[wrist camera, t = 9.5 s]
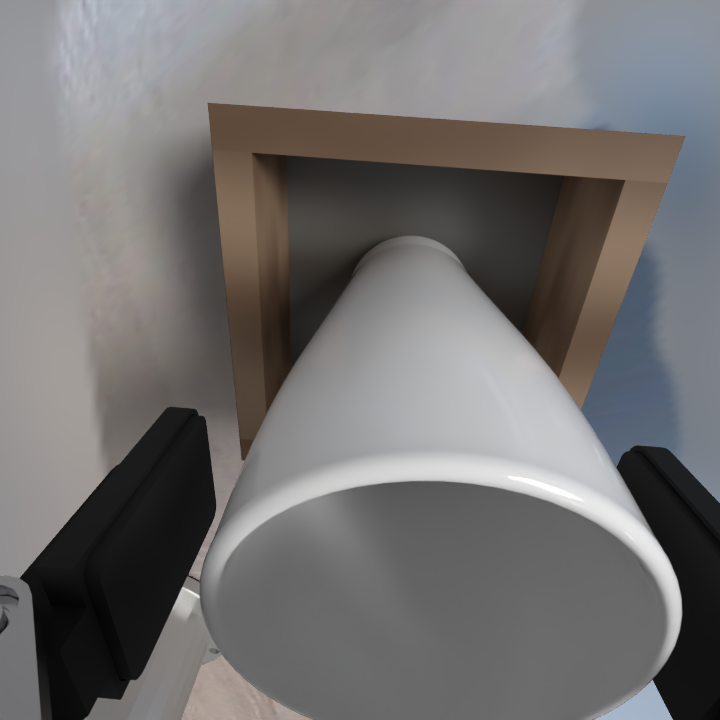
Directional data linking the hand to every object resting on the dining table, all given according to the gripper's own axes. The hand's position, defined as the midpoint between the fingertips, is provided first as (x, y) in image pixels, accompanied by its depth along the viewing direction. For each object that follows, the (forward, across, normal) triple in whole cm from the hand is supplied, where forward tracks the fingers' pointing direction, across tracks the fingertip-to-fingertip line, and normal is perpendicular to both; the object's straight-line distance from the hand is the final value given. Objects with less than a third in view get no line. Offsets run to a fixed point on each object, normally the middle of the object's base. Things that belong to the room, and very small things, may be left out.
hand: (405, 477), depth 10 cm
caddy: (+12, -1, -1) cm, 12 cm away
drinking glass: (+11, 0, -1) cm, 11 cm away
